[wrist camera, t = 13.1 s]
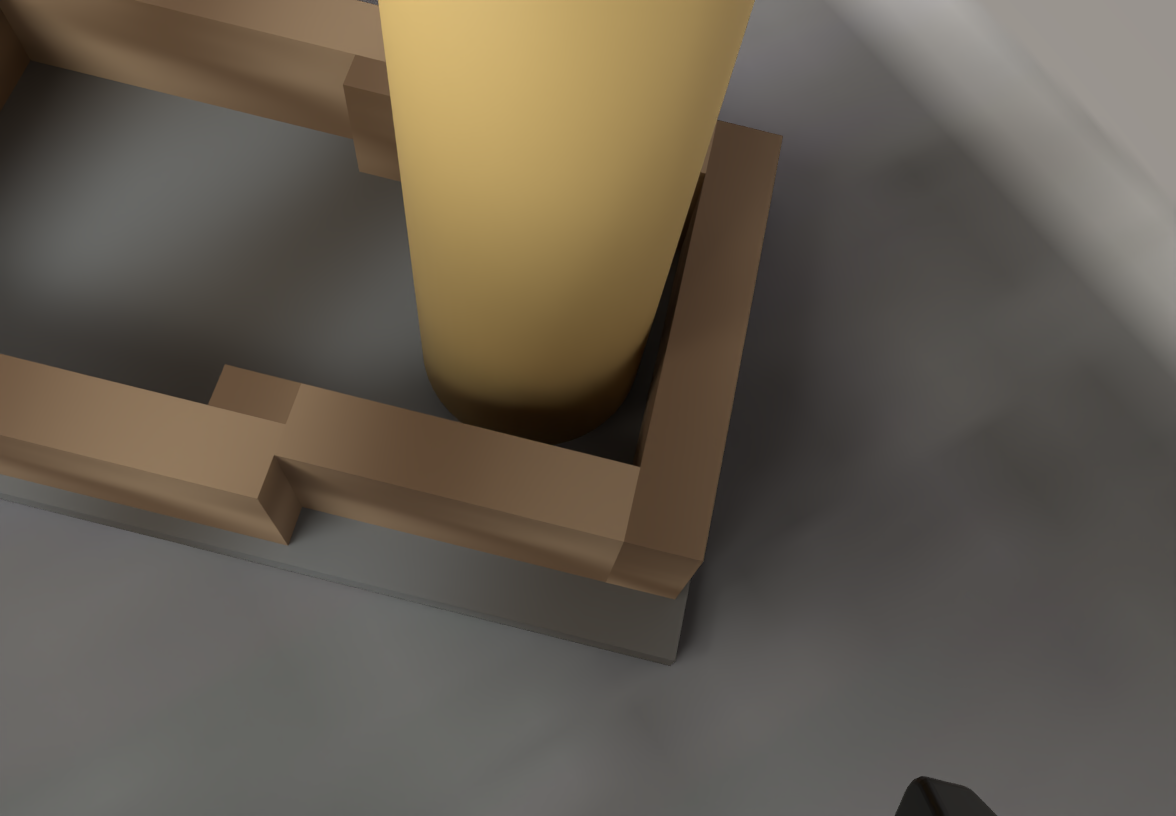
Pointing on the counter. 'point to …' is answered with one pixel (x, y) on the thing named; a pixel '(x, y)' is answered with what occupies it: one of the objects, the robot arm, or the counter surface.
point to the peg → (548, 189)
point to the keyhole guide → (322, 329)
